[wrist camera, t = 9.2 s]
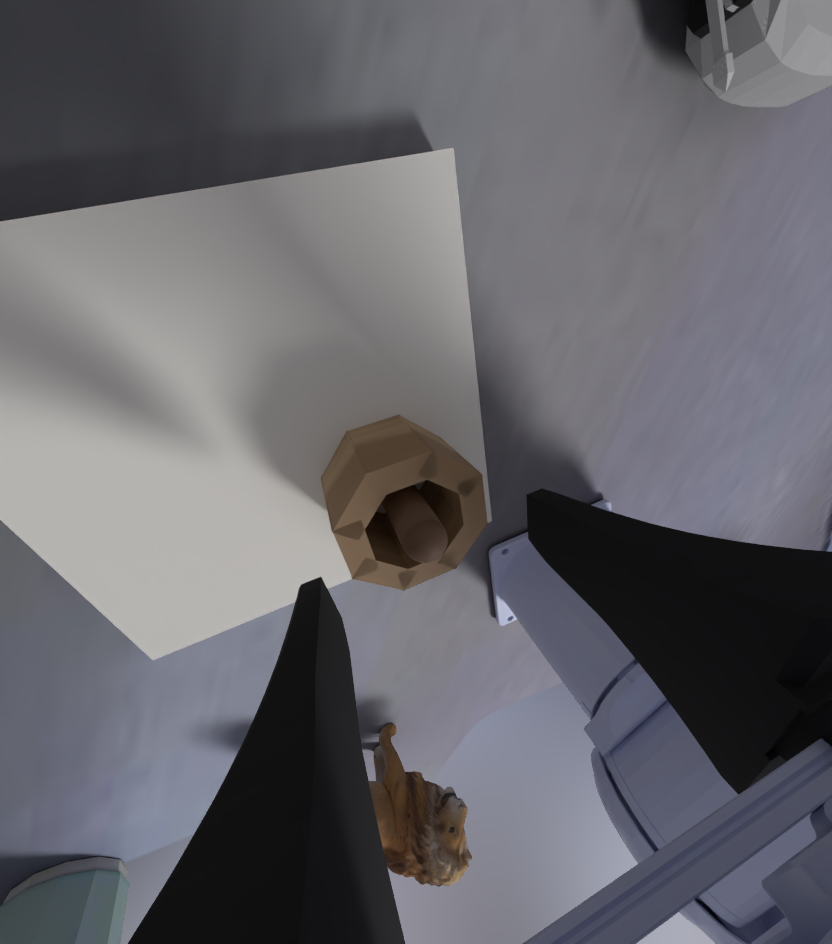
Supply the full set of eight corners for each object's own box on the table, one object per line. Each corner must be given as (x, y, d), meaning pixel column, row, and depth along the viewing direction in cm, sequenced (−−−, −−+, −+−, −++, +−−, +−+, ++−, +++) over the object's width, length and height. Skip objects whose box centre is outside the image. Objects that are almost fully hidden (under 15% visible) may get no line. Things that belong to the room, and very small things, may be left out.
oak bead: (433, 402, 15) (478, 433, 11) (451, 504, 18) (491, 553, 14) (306, 443, 14) (313, 490, 10) (348, 544, 16) (364, 607, 13)
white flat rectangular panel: (439, 160, 12) (453, 148, 11) (481, 510, 20) (491, 521, 19) (-209, 269, 8) (-275, 266, 7) (160, 638, 17) (152, 660, 16)
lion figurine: (440, 706, 29) (496, 851, 21) (418, 744, 30) (463, 891, 23) (253, 733, 22) (238, 956, 15) (238, 780, 24) (218, 1002, 16)
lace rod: (401, 458, 15) (451, 526, 11) (408, 486, 16) (458, 561, 12) (368, 469, 15) (405, 545, 10) (377, 497, 16) (415, 580, 11)
